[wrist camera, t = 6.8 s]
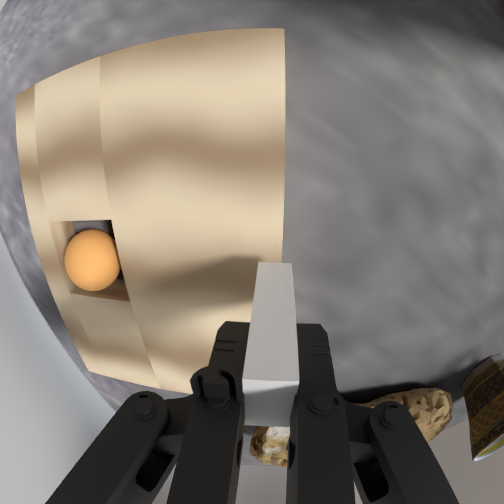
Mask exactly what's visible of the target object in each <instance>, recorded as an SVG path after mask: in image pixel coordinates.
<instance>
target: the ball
mask: <svg viewBox="0 0 504 504" xmlns="http://www.w3.org/2000/svg"><path fill="white" fill-rule="evenodd" d="M64 264H65V269H66V272H67V274H68V276H69V278H70V279H71V281H72V282H73V283H74V284H75V285H77V286H78V287H80V288H82V289H84V290H87V291H99V290H102V289H105V288H106V287H108V286H109V285H111V284H112V283H113V282H114V280H115V279H116V277H117V276H118V274H119V271H120V267H121V263H120V259H119V255H118V250H117V246H116V242H115V240H114V239H113V238H112V237H111V236H110V235H108V234H107V233H105V232H103V231H101V230H97V229H89V230H84V231H82V232H80V233H78V234H77V235H75V236H74V237H73V238H72V239H71V241H70V242H69V244H68V246H67V248H66V251H65V256H64Z"/></svg>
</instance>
